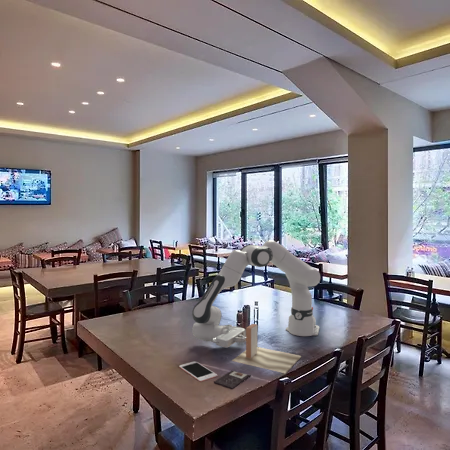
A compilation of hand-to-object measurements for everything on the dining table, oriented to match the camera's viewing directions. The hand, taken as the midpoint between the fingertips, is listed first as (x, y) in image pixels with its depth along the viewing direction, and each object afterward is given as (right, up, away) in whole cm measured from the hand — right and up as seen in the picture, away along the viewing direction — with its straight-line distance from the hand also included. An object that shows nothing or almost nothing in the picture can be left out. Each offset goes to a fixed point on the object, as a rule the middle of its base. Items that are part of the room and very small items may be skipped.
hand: (245, 339), depth 176 cm
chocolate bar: (-6, -9, -24) cm, 27 cm away
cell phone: (-22, -8, -18) cm, 30 cm away
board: (+10, -8, -5) cm, 13 cm away
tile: (+3, -7, -1) cm, 7 cm away
